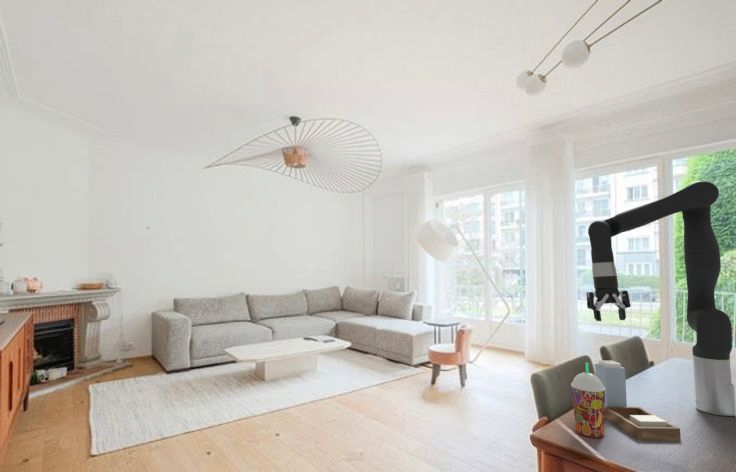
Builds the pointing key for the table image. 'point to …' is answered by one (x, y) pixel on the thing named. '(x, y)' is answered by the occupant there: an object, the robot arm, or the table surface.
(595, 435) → the smoothie
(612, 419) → the crate
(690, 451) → the table surface
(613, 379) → the carton
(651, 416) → the off-white rectangular block
